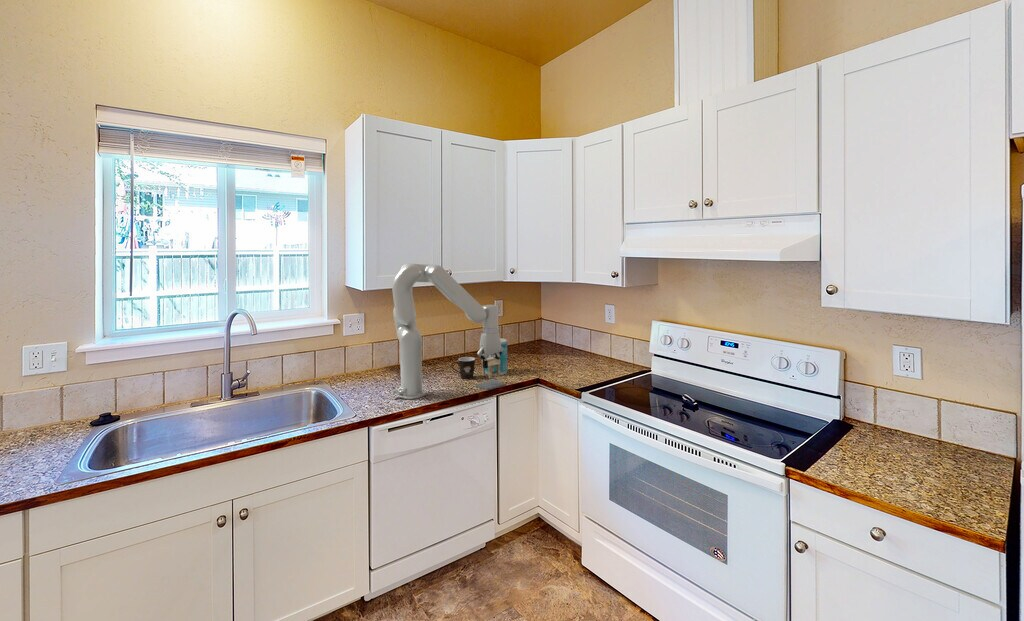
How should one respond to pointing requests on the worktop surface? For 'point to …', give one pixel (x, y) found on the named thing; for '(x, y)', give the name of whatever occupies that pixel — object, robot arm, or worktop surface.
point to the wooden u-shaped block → (492, 367)
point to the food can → (502, 359)
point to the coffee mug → (466, 367)
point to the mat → (490, 384)
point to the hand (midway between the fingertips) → (490, 366)
